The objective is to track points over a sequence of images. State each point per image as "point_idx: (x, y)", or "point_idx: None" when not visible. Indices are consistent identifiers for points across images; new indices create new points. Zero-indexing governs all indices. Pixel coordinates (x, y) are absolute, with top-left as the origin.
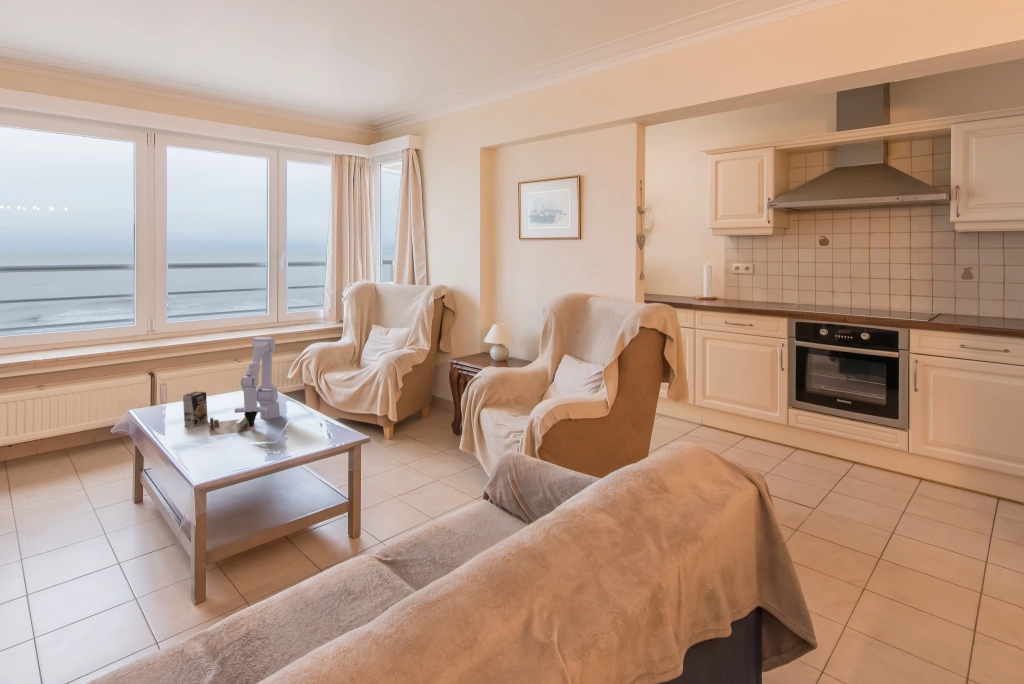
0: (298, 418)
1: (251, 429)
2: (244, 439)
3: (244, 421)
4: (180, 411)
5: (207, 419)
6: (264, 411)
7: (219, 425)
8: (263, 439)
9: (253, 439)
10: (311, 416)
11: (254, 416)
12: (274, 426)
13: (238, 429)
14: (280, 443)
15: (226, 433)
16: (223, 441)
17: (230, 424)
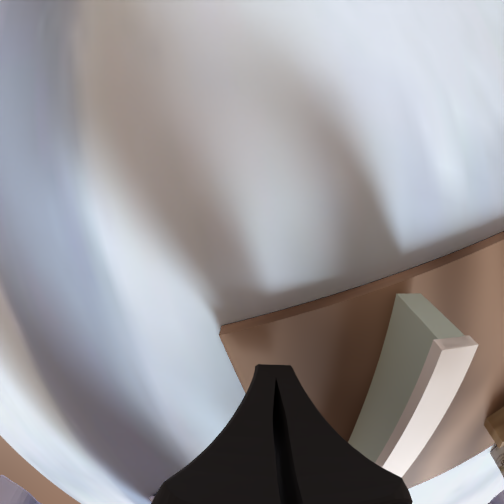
0: (67, 468)
1: (274, 355)
2: (293, 53)
3: None
4: (499, 487)
5: (495, 460)
6: (13, 495)
7: (482, 421)
8: (94, 51)
9: (189, 44)
10: (37, 462)
11: (185, 469)
12: (113, 411)
13: (413, 300)
14: (6, 7)
15: (489, 251)
16: (467, 62)
17: (431, 445)
